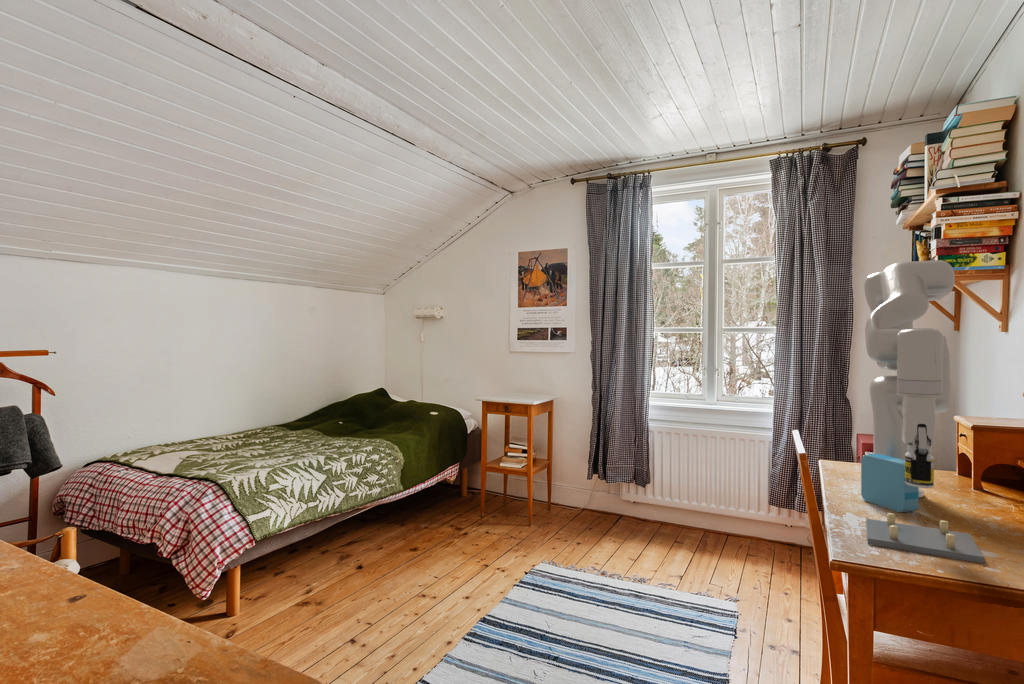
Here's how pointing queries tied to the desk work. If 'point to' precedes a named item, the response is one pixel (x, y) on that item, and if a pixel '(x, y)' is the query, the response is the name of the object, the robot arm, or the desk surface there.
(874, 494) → the data package
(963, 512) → the desk surface
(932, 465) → the supplement bottle
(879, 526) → the chassis plate
